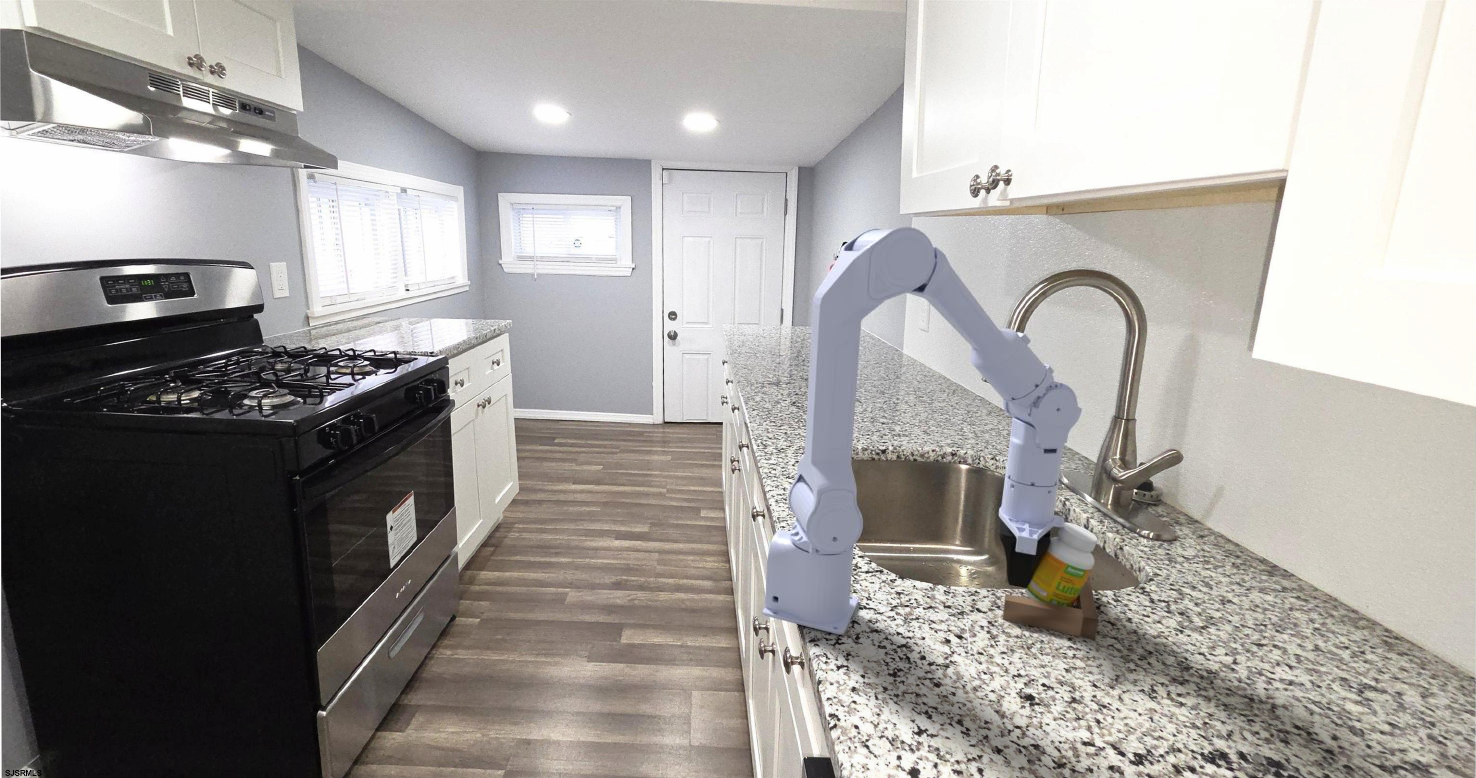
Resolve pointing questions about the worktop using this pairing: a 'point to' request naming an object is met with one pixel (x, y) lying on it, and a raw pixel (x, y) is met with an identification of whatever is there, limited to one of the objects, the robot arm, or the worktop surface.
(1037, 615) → the wooden u-shaped bracket
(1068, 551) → the supplement bottle
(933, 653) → the worktop surface
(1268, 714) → the worktop surface
